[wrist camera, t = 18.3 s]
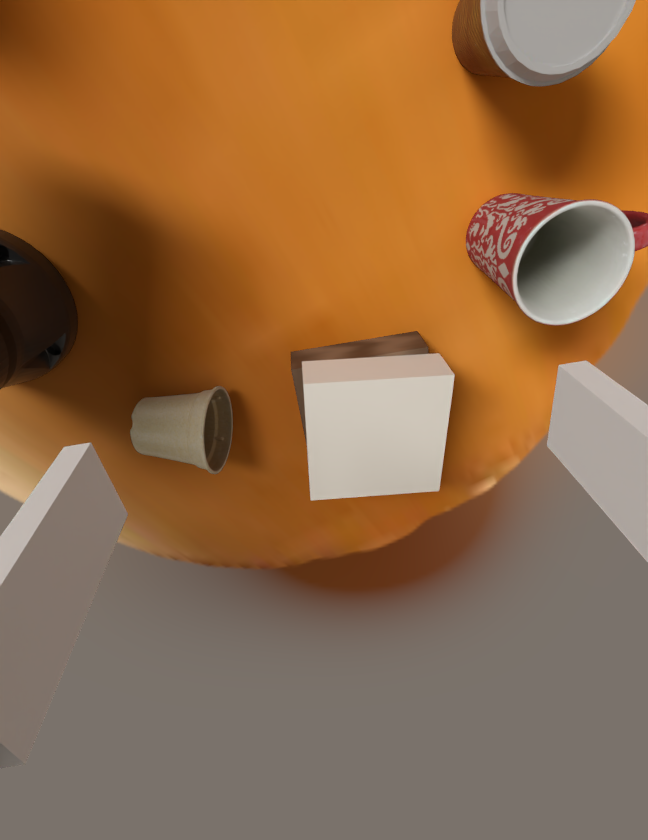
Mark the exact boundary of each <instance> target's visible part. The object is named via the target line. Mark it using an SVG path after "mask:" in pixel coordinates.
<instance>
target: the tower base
mask: <svg viewBox="0 0 648 840" xmlns="http://www.w3.org/2000/svg"><path fill="white" fill-rule="evenodd" d="M418 354H428V346H427V345H426V343H425V342H424V340H423V339H422V337H421V336H420V335H419V333H418V332H417V331H415V332H409V333H402V334H396V335H390V336H384V337H378V338H372V339H366V340H360V341H354V342H348V343H342V344H336V345H330V346H324V347H318V348H312V349H306V350H300V351H294V352H291V370H292V375H293V380H294V385H295V390H296V395H297V400H298V405H299V410H300V414H301V419H302V424H303V429H304V434H305V439H306V444H307V438H306V422H305V406H304V390H303V374H302V361H317V360H334V359H351V358H367V357H384V356H401V355H418Z"/></svg>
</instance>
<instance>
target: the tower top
mask: <svg viewBox="0 0 648 840" xmlns="http://www.w3.org/2000/svg"><path fill="white" fill-rule="evenodd" d="M302 374H303V390H304V406H305V422H306V438H307V454H308V470H309V484H310V498H311V500H323V499H337V498H350V497H364V496H377V495H391V494H404V493H418V492H432V491H439V489H440V481H441V474H442V466H443V459H444V451H445V444H446V436H447V429H448V422H449V414H450V407H451V399H452V392H453V384H454V377H455V374H454V373H453V372H452V370H451V369H450V368H449V366H448V365H447V363H446V362H445V361H444V359H443V358H442V357H441V355H440V354H439V353H435V354H418V355H401V356H384V357H367V358H351V359H334V360H317V361H302Z"/></svg>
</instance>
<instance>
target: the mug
mask: <svg viewBox="0 0 648 840" xmlns="http://www.w3.org/2000/svg"><path fill="white" fill-rule="evenodd" d="M647 246H648V214H647V213H644V212H636V211H621V210H620V209H618V208H617V207H616V206H614V205H612V204H610V203H608V202H604V201H601V200H580V201H576V200H567V199H556V198H548V197H540V196H531V195H523V194H516V193H510V194H502V195H499V196H496V197H494V198H492V199H490V200H489V201H487V202H486V203H485V204H484V205H483V206H481V208H480V209H479V210H478V211H477V212H476V213H475V215H474V216H473V218H472V220H471V222H470V224H469V227H468V230H467V235H466V247H467V252H468V255H469V257H470V259H471V260H472V262H473V263H474V264H475V265H476V266H477V267H478V268H479V269H480V270H482V271H483V272H484V273H485V274H486V275H487V276H488V277H489V278H491V280H492V281H493V282H495V283H496V284H497V285H498V286H499V287H500V288H501V289H502V290H504V291H505V292H506V293H507V294H508V295H509V296H510V297H511V298H512V299H513V300H514V301H516V303H517V305H518V306H519V308H520V309H521V310H522V311H523V313H524V314H525V315H526V316H528V317H529V318H530V319H532V320H534V321H536V322H538V323H542V324H546V325H566V324H571V323H574V322H577V321H580V320H582V319H584V318H586V317H588V316H590V315H592V314H593V313H595V312H597V311H598V310H599V309H601V308H602V307H603V306H604V305H606V304H607V303H608V302H609V301H610V300H611V299H612V298H613V297H614V295H615V294H616V293H617V292H618V291H619V289H620V288H621V286H622V285H623V283H624V282H625V280H626V278H627V276H628V273H629V271H630V268H631V266H632V262H633V258H634V253H635V251H637V250H640V249H642V248H645V247H647Z"/></svg>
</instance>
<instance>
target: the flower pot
mask: <svg viewBox="0 0 648 840" xmlns="http://www.w3.org/2000/svg"><path fill="white" fill-rule="evenodd" d="M131 418H132V421H133V426H132V429H131V430H130V435H131V440H132V443H133V446H134V448H135V449H136V451H137V452H139V453H141V454H144V455H149V456H155V457H160V458H165V459H170V460H175V461H179V462H184V463H189V464H193V465H196V466H197V467H199V468H202V469H207V471H208V472H210V473H212V474H217V473H219V472H220V471H221V470H222V469H223V467H224V465H225V463H226V461H227V458H228V455H229V451H230V447H231V441H232V432H233V413H232V406H231V401H230V397H229V395H228V392H227V391H226V389H225V388H224V387H222V386H216V387H214V388H213V389H212V390H204V391H202V392H201V393H194V394H183V395H172V396H161V397H147V398H143V399H142V400H140V401H139V402H138V403H137V405H136V407H135V408H134V411H133V413H132V417H131Z"/></svg>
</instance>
